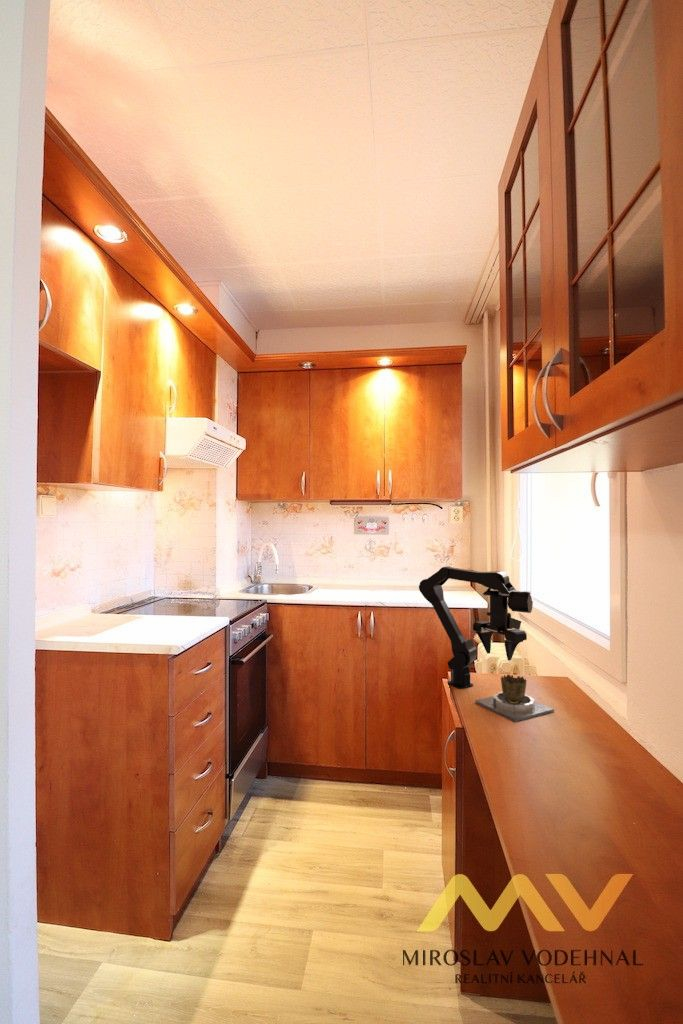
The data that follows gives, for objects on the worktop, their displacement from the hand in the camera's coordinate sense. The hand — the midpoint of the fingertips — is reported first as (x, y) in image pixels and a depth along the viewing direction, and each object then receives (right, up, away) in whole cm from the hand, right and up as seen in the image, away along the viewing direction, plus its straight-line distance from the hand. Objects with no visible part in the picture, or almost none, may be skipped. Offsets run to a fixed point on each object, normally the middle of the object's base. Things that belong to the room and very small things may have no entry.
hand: (498, 656), depth 158 cm
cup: (+1, -11, -12) cm, 16 cm away
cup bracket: (+1, -12, -12) cm, 17 cm away
